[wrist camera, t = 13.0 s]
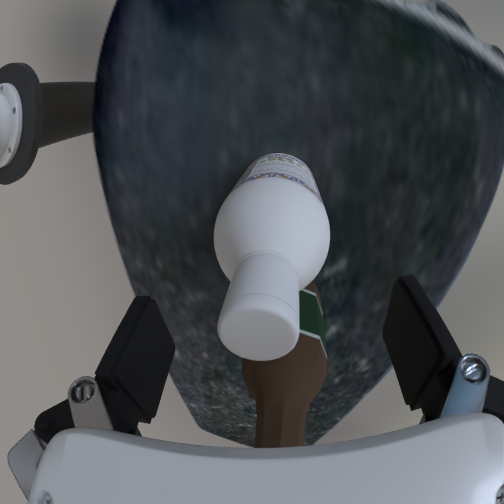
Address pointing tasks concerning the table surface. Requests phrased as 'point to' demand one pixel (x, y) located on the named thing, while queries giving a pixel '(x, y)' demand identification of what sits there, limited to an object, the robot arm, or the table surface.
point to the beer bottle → (290, 379)
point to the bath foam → (269, 255)
